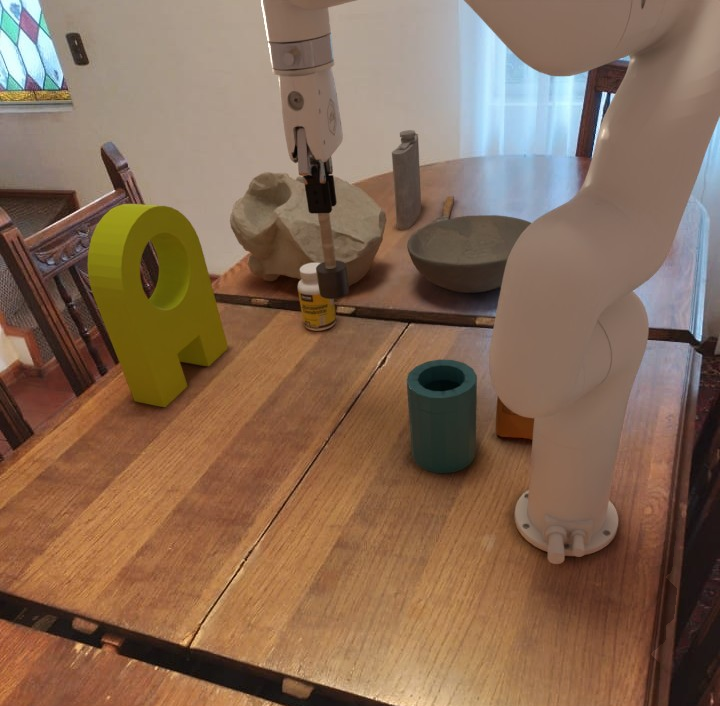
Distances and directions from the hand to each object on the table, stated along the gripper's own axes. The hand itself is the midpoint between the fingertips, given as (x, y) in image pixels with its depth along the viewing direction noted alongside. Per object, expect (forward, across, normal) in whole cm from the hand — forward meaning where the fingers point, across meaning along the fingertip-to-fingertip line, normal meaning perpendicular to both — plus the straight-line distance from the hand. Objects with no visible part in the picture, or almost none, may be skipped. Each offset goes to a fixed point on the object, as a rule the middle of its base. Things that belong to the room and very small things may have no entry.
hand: (322, 208), depth 93 cm
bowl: (+31, +42, -17) cm, 55 cm away
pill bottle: (+31, +24, +11) cm, 41 cm away
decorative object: (+31, +5, +32) cm, 45 cm away
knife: (+31, +73, -6) cm, 79 cm away
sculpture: (+31, +46, +17) cm, 58 cm away
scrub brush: (+12, 0, 0) cm, 12 cm away
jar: (+31, -13, -18) cm, 38 cm away
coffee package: (+31, -4, -30) cm, 43 cm away
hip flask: (+31, +78, +2) cm, 84 cm away
